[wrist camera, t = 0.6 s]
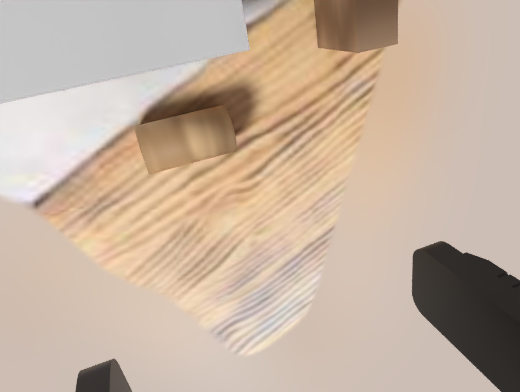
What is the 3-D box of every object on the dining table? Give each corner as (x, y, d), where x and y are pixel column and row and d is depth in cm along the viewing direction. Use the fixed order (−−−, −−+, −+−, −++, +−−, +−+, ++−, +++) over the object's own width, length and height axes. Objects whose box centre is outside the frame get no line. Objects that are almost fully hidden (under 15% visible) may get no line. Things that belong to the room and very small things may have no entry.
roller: (148, 166, 25) (150, 180, 22) (134, 122, 24) (134, 130, 21) (228, 145, 26) (239, 156, 23) (219, 102, 25) (229, 107, 22)
